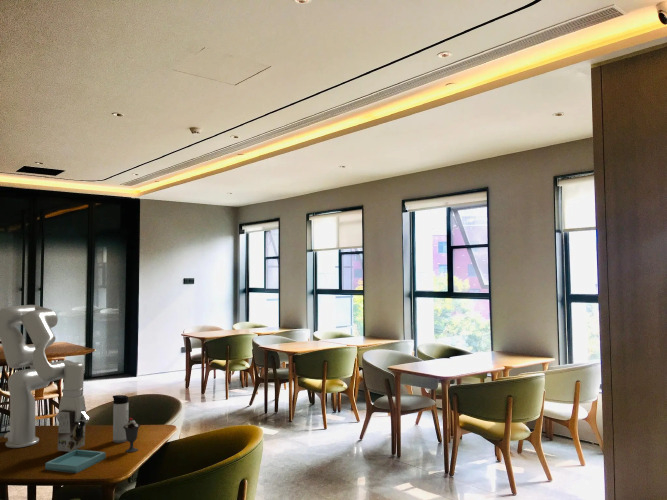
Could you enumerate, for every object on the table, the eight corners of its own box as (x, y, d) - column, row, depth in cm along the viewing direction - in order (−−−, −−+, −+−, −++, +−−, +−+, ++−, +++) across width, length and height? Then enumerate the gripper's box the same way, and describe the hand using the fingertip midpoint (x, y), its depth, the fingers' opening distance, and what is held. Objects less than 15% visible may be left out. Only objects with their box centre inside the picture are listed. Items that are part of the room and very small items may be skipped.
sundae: (130, 447, 231) (130, 411, 231) (143, 449, 228) (143, 412, 229) (119, 452, 224) (119, 415, 225) (132, 454, 222) (132, 416, 223)
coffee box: (70, 452, 221) (72, 412, 221) (57, 450, 222) (58, 411, 223) (85, 445, 230) (86, 406, 230) (72, 443, 231) (73, 405, 232)
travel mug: (110, 440, 240) (110, 395, 240) (125, 437, 244) (125, 392, 245) (115, 444, 235) (115, 397, 236) (130, 440, 239) (130, 395, 240)
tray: (45, 469, 205) (45, 462, 205) (76, 455, 221) (76, 449, 221) (76, 473, 201) (76, 466, 202) (105, 458, 217) (105, 452, 217)
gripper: (49, 393, 226) (47, 436, 225) (84, 396, 221) (82, 441, 220) (62, 389, 233) (61, 431, 232) (97, 392, 228) (95, 435, 228)
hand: (71, 435), depth 226 cm, fingers closed on coffee box, 6 cm apart
